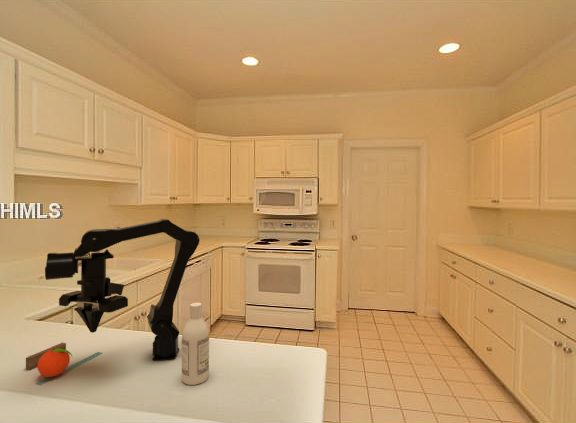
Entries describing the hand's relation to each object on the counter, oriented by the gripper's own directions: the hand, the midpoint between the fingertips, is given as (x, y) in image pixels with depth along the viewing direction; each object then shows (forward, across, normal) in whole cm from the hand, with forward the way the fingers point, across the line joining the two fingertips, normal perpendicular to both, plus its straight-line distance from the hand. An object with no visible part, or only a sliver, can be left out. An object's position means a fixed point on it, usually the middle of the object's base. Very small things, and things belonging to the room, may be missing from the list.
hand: (93, 331), depth 82 cm
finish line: (+11, +8, 0) cm, 14 cm away
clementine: (+11, +8, +4) cm, 15 cm away
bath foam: (+12, -28, -7) cm, 31 cm away
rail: (+11, +18, 0) cm, 22 cm away
